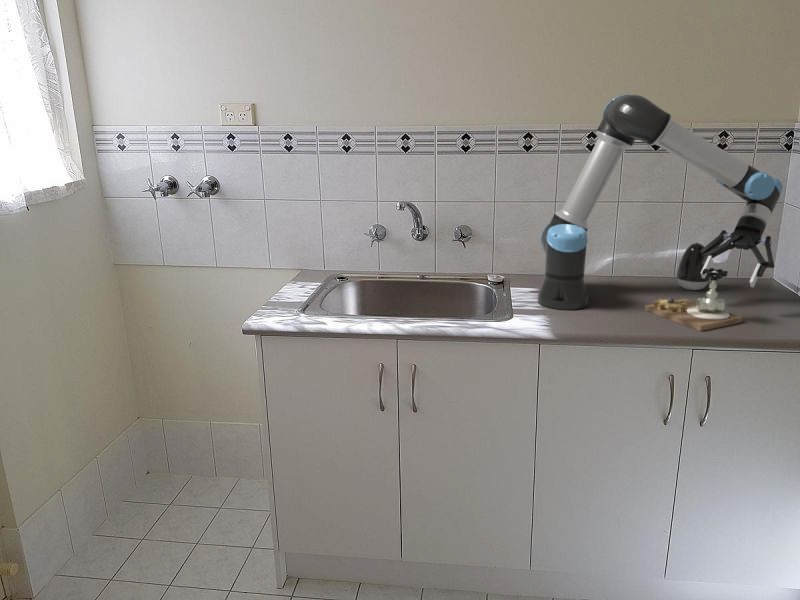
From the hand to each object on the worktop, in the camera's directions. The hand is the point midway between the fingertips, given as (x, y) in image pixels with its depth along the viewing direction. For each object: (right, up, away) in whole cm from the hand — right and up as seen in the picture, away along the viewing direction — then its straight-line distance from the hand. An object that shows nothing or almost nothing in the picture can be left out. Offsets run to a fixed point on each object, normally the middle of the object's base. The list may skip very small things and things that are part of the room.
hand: (726, 280), depth 186 cm
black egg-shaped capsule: (+1, -2, +25) cm, 25 cm away
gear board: (-11, -10, -2) cm, 15 cm away
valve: (-7, -9, -4) cm, 12 cm away
